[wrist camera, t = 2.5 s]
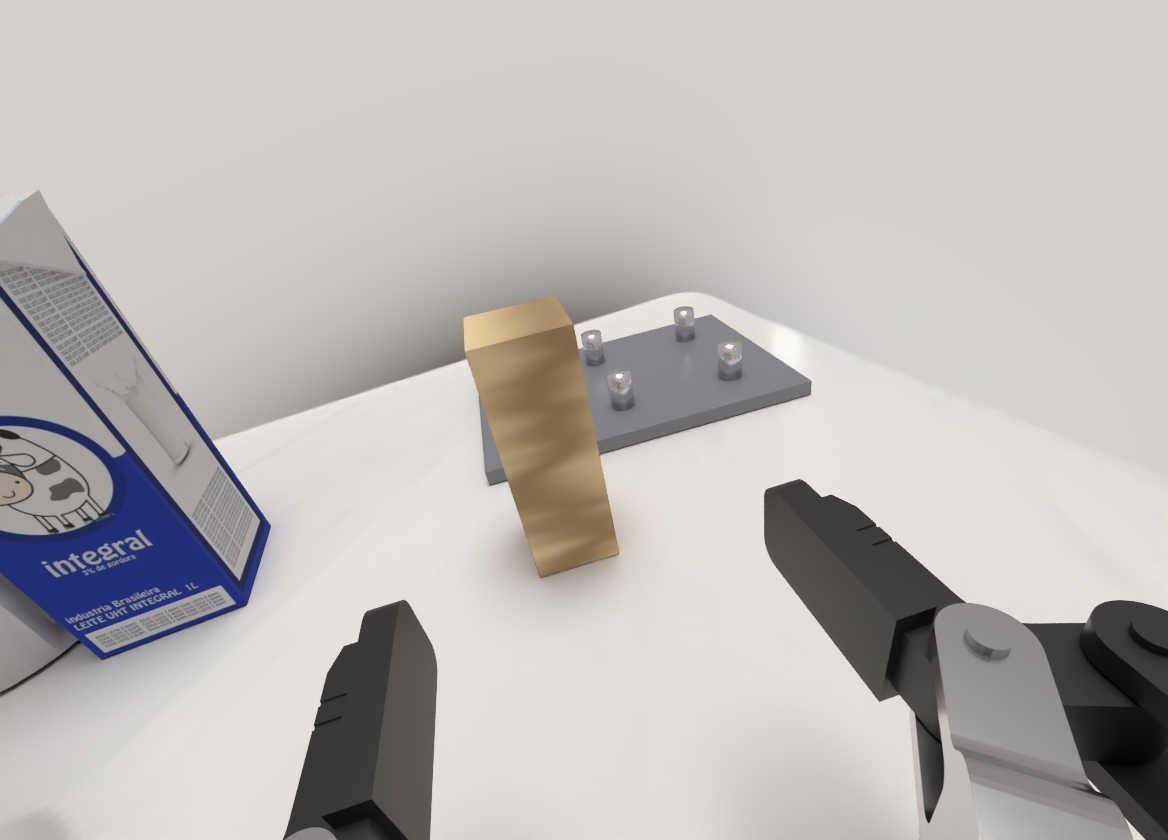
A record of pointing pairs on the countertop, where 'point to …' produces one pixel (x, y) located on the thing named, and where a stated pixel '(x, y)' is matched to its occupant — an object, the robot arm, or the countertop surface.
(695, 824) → the countertop surface
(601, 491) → the oak block
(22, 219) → the milk carton
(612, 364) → the plate
